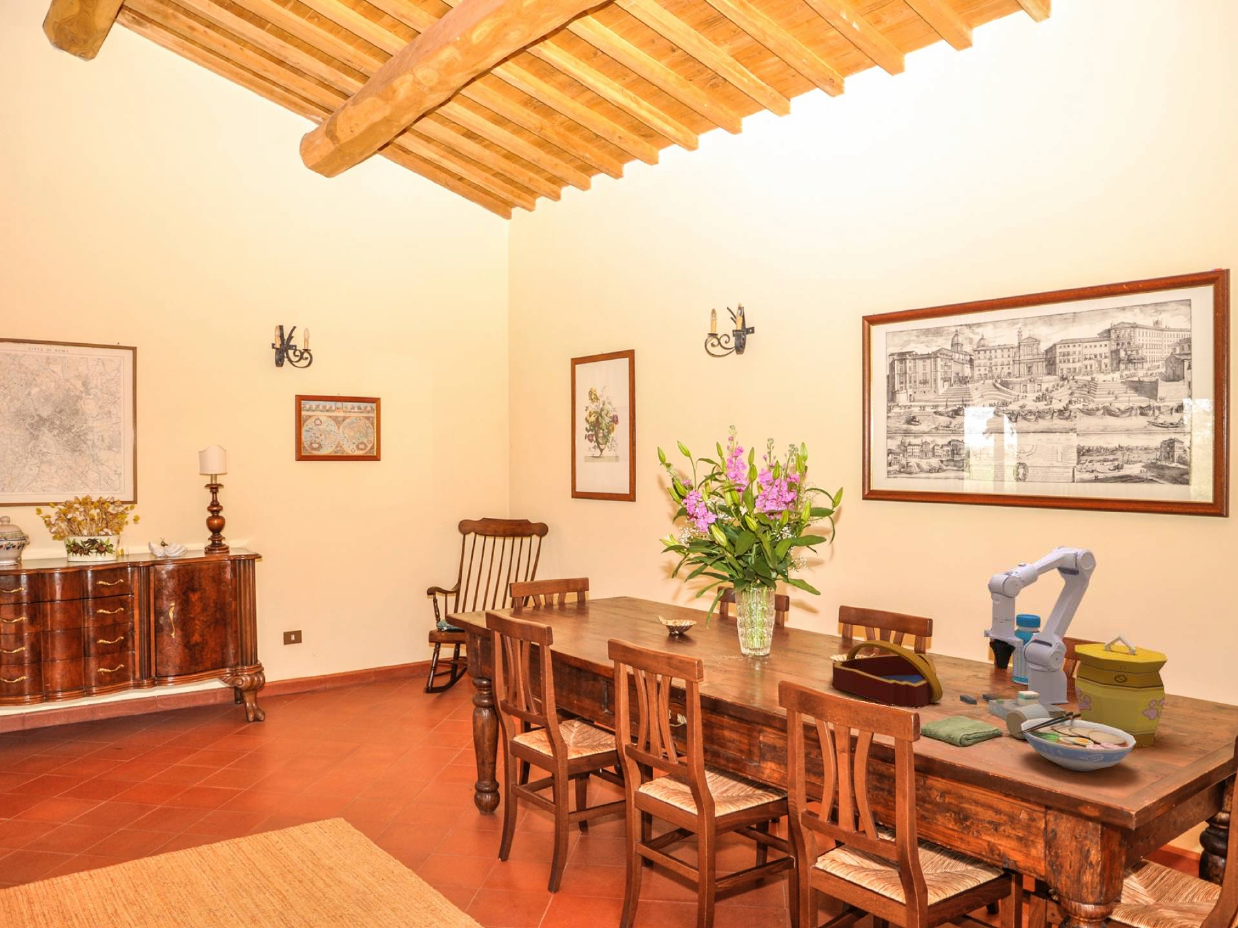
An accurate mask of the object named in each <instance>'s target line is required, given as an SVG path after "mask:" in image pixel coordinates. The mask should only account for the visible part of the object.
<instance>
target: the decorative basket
mask: <svg viewBox="0 0 1238 928" xmlns="http://www.w3.org/2000/svg"><path fill="white" fill-rule="evenodd" d="M864 648H873V649H874V648H875V649H880V650H883V651H886V652H890V653H891V654H888V655H886V654H885V655H876V656H875V655H873V656H866V657H856V656H857V654H858V653H859V651H860V650H861V649H864ZM832 687H833V688H835V689H838V690H842V691H845V692H848V693H849V692H850V693H853V694H856V695H859V696H862V697H864V698H867V699H869V700H873V701H875V702H879V703H883V704H885V705H888V706H894V705H897V706H898V707H902V706H904V707H903V708H905V707H908V708H912V707H915V708H914V709H919V708H918V707H920V708H923V707H924V706H927V705H929V704H930V703H931V704H932V703H936V702H939V701H941V699H942V698H943V687H942V685H941V683H940V680H939V678H938V677H937V670H936V665H935V663H933V661H932V660H931V659H930V657H929V656H927V655H926V654H925V653H915V652H913V651H911V650H909V649H908V648H905V647H904V646H901V645H899V644H896V643H895V642H890V641H886V640H882V639H870V640H865V641H863V642H860V643H858V644H856V645H855V646H853V647H852V648H851V649H850V650H849V651H848V654H847V655H846V659H843V660H837V661H833V662H832ZM892 704H894V705H892Z"/></svg>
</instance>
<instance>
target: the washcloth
mask: <svg viewBox="0 0 1238 928" xmlns="http://www.w3.org/2000/svg"><path fill="white" fill-rule="evenodd" d="M920 728H921V733H920V734H921V735H922V736H924V737H929V738H933V739H934V740H941V742H942V741H943V742H946V743H948V744H951V745H954V746H956V747H967V746H970V745H975V744H978V743H981V742H983V741H987V740H989V739H993V738H996V737H999V736H1001V735H1003V734H1004V731H1002V729H999V727H997V726H994V725H991V724H988V723H986V722H983V721H981V720H973V719H971V718H969V717H967V716H965V715H958V716H957V715H955V716H953V715H951V716H949V717H948V716H947V717H945V718H941V719H939V720H934V721H933V720H932V721H930V722H926V723H924V724H922V725H921V726H920Z"/></svg>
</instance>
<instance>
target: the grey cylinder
mask: <svg viewBox="0 0 1238 928" xmlns="http://www.w3.org/2000/svg"><path fill="white" fill-rule="evenodd" d="M1039 718H1051V716H1050V714H1049V713H1048V711H1047V710H1046V709H1045V708H1044V707H1043V706H1041V705H1039V704H1031V705H1027V706H1023V707H1019V708H1015V709H1013V710H1011V711H1010V712H1009V713H1008V714H1007V716H1006V720H1005V725H1006V728H1007V731H1008V732H1009V733H1010V734H1011V736H1013V738H1015V739H1020V740H1027V739H1026V737H1025V735H1024V733H1023V732H1022V733H1023V734H1020V733H1019V732H1021V731H1022V727H1021V724H1022V723H1024V722H1026V721H1027V720H1032V719H1039ZM1017 733H1019V734H1017Z"/></svg>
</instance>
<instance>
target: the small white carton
mask: <svg viewBox="0 0 1238 928" xmlns="http://www.w3.org/2000/svg"><path fill="white" fill-rule="evenodd" d="M1039 698H1040V695H1039V694H1038V693H1036V692H1034V691H1028V690H1021V691H1018V693H1017V699H1018V706H1019V707H1023V706H1027V705H1031V704H1039Z"/></svg>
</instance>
